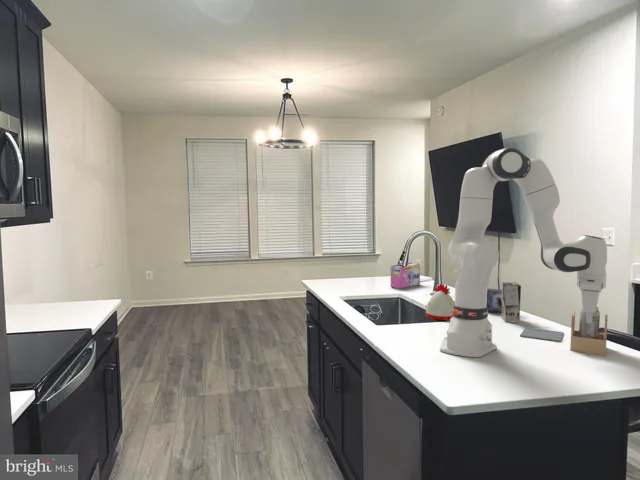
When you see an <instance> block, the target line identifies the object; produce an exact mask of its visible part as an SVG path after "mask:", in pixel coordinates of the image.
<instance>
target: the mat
mask: <svg viewBox="0 0 640 480" xmlns="http://www.w3.org/2000/svg"><path fill="white" fill-rule="evenodd" d="M563 336H564V332H563V331H557V330H556V331H555V330H550V329H541V328H534V327H533V328H532V327H524V329H523V330H522V332H521V333H520V335H519V337H521V338H527V339H528V338H529V339H534V340H542V341H543V340H544V341H550V342H556V343H557V342H558V343H561V342H562V339H563Z"/></svg>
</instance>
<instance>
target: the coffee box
mask: <svg viewBox="0 0 640 480" xmlns="http://www.w3.org/2000/svg"><path fill="white" fill-rule="evenodd" d="M521 288H522V285H520V284H519V283H517V282H502V283H501V290H502V306H501V313H500V315H501V318H502V320H503V321H504V322H507V323H508V322H510V323H520V317H521V315H520V313H521V297H522V296H521V294H522V289H521Z"/></svg>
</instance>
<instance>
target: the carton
mask: <svg viewBox="0 0 640 480" xmlns="http://www.w3.org/2000/svg"><path fill="white" fill-rule="evenodd" d="M604 317H605V318H604V319H605V320H604V333H603V332H599V339H592V338H584V337H579V330H578V329H575V328H576V327H575V325H576V324H575V323H576V322H575V321H576V311H575V310H574V311H573V312H572V315H571V325H570V328H571V329H570V330H571V331H570V344H569V345H570V346H569V350H570V351H573V352H579V353H586V354H593V355H600V356H606V355H607V337H608V314H605V315H604Z"/></svg>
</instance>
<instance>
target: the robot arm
mask: <svg viewBox="0 0 640 480" xmlns="http://www.w3.org/2000/svg"><path fill="white" fill-rule="evenodd" d="M509 180H513V181H514V182H515V183H516V184H517V185H518V187H519V188H520V192H521V194H522V198H523V200H524V201H525V204H526V207H527V209H528V211H529V212H530V215H531V217H532V219H533V223H534V226H535V229H536V233H537V236H538V239H539V241H540V259H541V262H542V263H543V265H544V266H545V267H546V268H548V269H550V270H555V271H559V272H563V273H574V272H575V273H576V286H577V287H578V288H579V290H580V292H581V304H582V305H581V307H582V306H583V311H584V312H586V323H590V324H591V323H592V317H593V313H595V312H596V308H597V307H598V303H599V302H598V301H599V296H600V293H602V291H603V289H606V287H607V286H606V284H607V269H606V267H607V266H606V265H607V263H608V247H607V246H608V244H607V242H606V239H604V238H602V237H598V236H594V235H587V234H585V235H583V234H582V235H581V236H580V237H579V238H577V239H575V240H573V241H570V242H568V243H564V242H563V241H561V239H560V237H559V233H558V230H557V226H556V224H555V221H554V213H555V211H556V210H557V209H558V206H559V205H560V203H561V198H560V194H559V193H560V192H559V190H558V186H557V184H556V182H555V179H554V177H553V175H552V173H551V171H550V169H549V168H548V166H547V165H546V163H545V161H544V160H543V159H541V158H538V157H537V158H529V157H527V155H525V154H524V153H523V152H522V151H520V150H519V149H517V148H514V147H504V148H501V149H500V148H499V149H498V150H495V151H494V152H492V153H491V154H489V155H488V156H487V157H485V160H483V162H482V164H481V165H480V166H479V167H477V166H476V167H472V168H470V169H468V170H467V171H465V173H464V176H463V179H462V184H461V189H460V195H459V198H460V199H459V206H458V207H459V210H458V217H457V223H456V227H455V230H454V234H453V238H452V240H451V241H450V243H449V245H448V246H447V253H448V256H449V258H450V259H451V260H452V262H453V263H455V264H457V265H459V266H461V269H460V273H459V277H458V279H457V280H456V282H455V285H454V301H455V304H454V307H453V311H452V315H453V317H452V318H451V319H450V320H449V321H450V322H449V326H448V329H447V331H446V336H445V337H443V339H442V342H441V345H440V348H439V351H440V352H443V353H445V354H449V355H455V356H462V357H469V358H481V357H482V358H483V357H484V356H485V355H487V354H489V353H491V352H493V351H494V350H496V349H497V348H498V347H497V346H498V345H497V344H496V343H494V342H493V325H492V323H491V322H490V321H489V319H488V316H489V312H488V307H487V289H489V288H488V285H489V282H490V278H491V274H492V271H493V268H494V267H495V266H496V265H497V263H498V262H499V259H500V251H499V249H498V247H497V246H496V245H495V244H493V242H491V241H489V240H487V239H485V238H484V235H485V233H486V230H487V228H488V226H489V225H490V224H491V222H492V213H493V199H494V190H495V186H496V185H497V183H499V182H506V181H509Z"/></svg>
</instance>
